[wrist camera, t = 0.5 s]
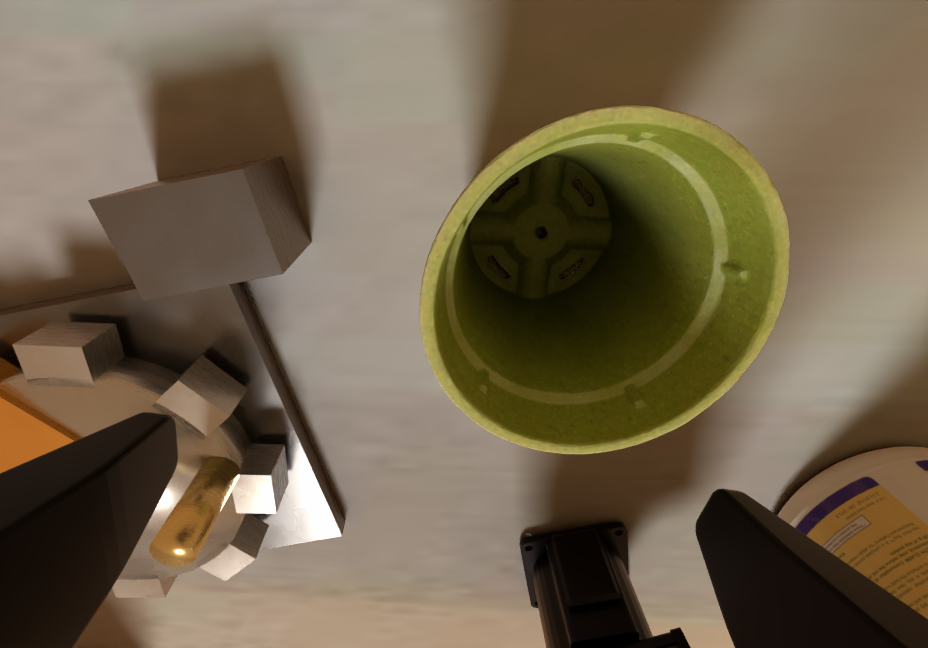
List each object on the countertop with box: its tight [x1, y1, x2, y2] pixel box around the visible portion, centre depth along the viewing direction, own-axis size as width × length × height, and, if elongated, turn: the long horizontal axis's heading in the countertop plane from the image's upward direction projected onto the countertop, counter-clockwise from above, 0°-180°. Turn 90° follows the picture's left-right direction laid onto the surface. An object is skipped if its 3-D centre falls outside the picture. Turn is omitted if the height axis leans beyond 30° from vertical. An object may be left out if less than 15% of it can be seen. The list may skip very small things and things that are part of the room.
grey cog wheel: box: [0, 321, 289, 598], centre depth 19 cm, size 15×15×6 cm
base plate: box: [0, 282, 345, 550], centre depth 22 cm, size 16×16×1 cm
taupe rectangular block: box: [88, 156, 311, 301], centre depth 17 cm, size 4×5×4 cm
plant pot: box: [420, 105, 790, 454], centre depth 15 cm, size 9×9×9 cm
